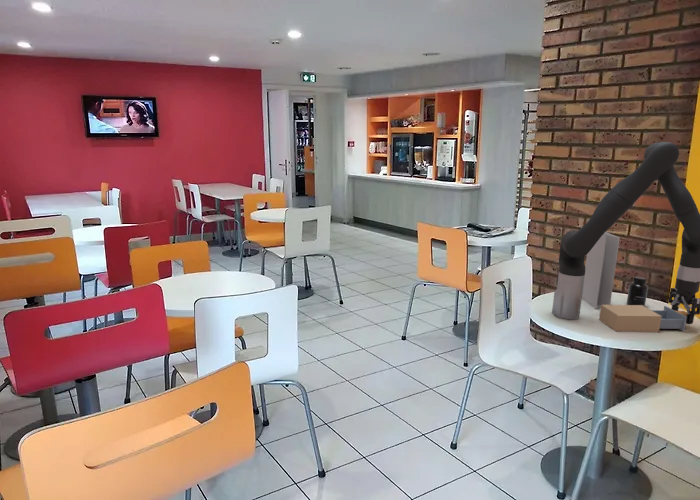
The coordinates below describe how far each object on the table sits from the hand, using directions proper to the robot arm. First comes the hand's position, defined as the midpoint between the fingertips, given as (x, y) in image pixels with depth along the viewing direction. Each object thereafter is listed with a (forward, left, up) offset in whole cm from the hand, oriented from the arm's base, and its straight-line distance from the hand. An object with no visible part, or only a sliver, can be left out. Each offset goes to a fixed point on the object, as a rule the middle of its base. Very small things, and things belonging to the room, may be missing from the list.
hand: (681, 319), depth 192 cm
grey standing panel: (-20, +25, -3) cm, 32 cm away
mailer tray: (-8, 0, -2) cm, 9 cm away
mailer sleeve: (-20, 0, -3) cm, 20 cm away
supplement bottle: (-3, +24, -3) cm, 24 cm away
